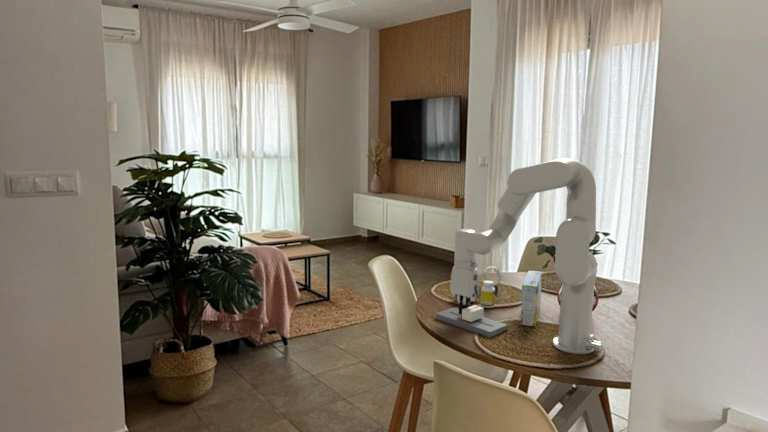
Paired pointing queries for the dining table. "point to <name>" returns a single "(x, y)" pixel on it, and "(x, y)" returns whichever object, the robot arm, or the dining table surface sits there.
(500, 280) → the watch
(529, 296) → the snack box
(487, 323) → the grey slider track base
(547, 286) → the dining table surface
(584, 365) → the dining table surface
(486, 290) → the supplement bottle
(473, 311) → the fader knob
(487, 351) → the dining table surface
